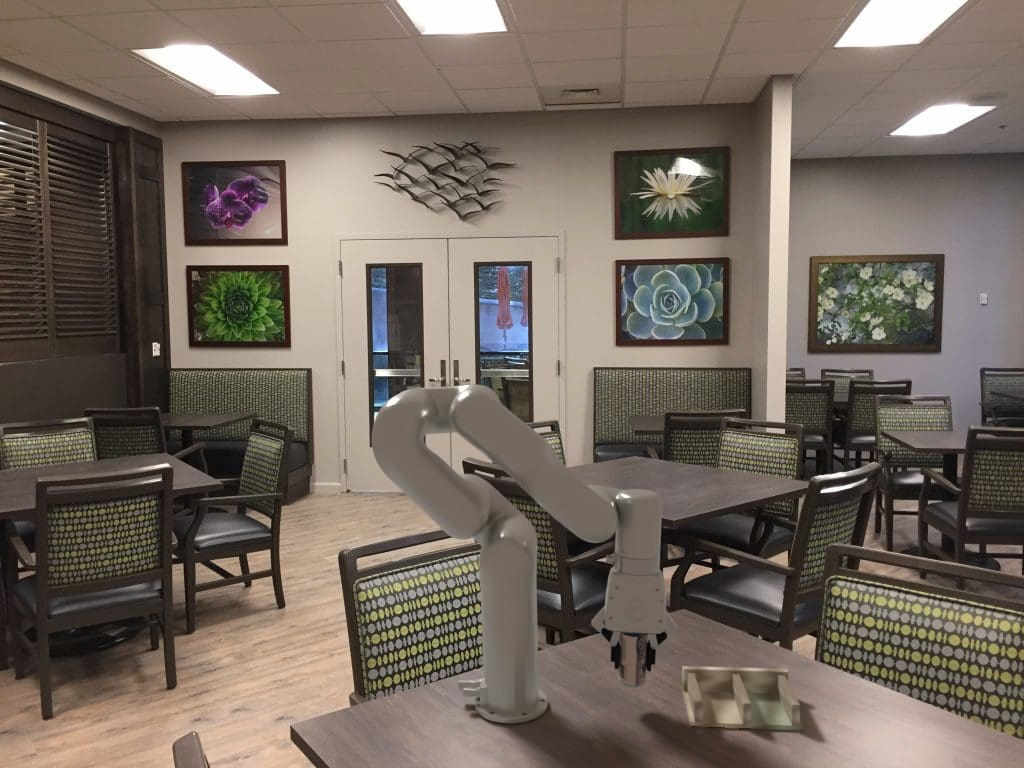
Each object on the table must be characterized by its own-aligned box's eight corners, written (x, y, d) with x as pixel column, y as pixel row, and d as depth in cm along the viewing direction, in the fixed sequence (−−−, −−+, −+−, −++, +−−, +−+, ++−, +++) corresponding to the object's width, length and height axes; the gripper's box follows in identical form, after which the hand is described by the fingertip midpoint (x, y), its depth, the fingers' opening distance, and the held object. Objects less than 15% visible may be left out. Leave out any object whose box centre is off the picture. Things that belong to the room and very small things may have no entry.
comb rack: (690, 726, 132) (690, 698, 132) (682, 691, 144) (682, 666, 144) (804, 730, 130) (804, 702, 130) (786, 694, 142) (786, 668, 142)
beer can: (645, 690, 136) (648, 621, 134) (616, 687, 137) (619, 618, 135) (646, 677, 140) (649, 610, 139) (618, 674, 141) (621, 608, 140)
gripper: (586, 567, 133) (582, 673, 135) (690, 573, 132) (685, 680, 134) (586, 553, 141) (582, 654, 143) (685, 559, 139) (680, 660, 141)
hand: (632, 665), depth 138 cm, fingers closed on beer can, 4 cm apart
